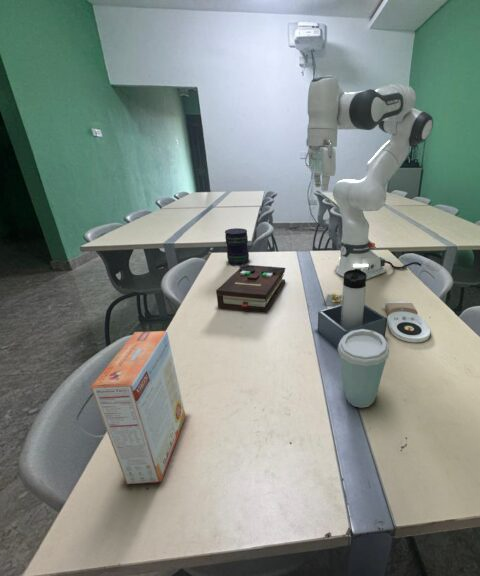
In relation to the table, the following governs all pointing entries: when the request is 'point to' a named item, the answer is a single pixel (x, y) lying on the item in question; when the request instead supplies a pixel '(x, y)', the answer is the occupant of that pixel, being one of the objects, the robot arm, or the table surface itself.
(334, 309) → the storage box
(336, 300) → the dice set
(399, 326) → the record player
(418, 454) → the table surface
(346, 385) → the disposable coffee cup
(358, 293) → the travel mug
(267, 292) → the decorative book
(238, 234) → the storage jar
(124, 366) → the cracker box
